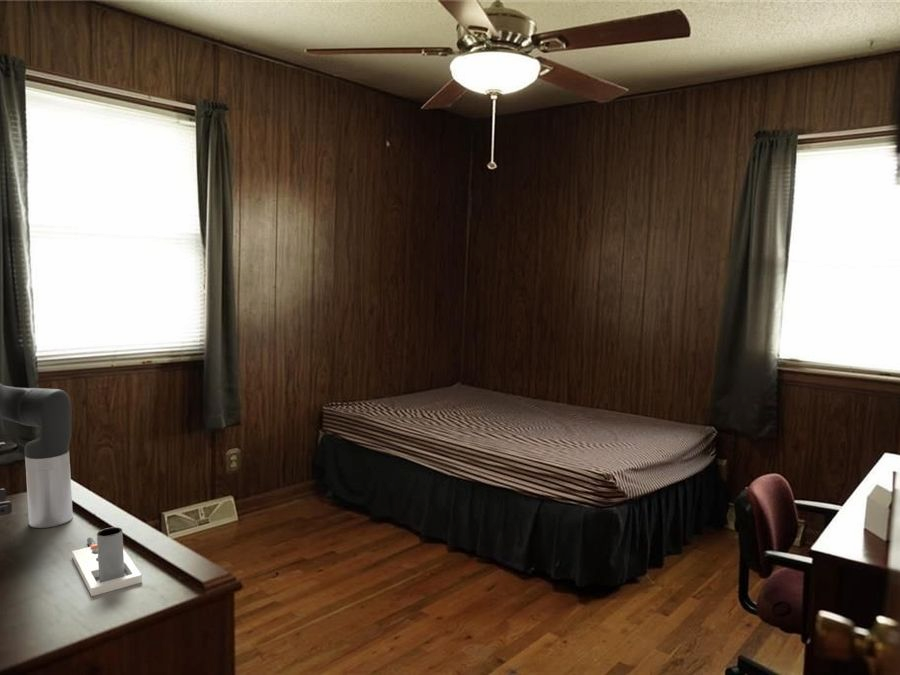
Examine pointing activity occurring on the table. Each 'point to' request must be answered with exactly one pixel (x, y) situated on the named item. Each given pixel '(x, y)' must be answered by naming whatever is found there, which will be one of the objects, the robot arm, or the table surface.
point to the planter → (110, 554)
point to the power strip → (90, 570)
